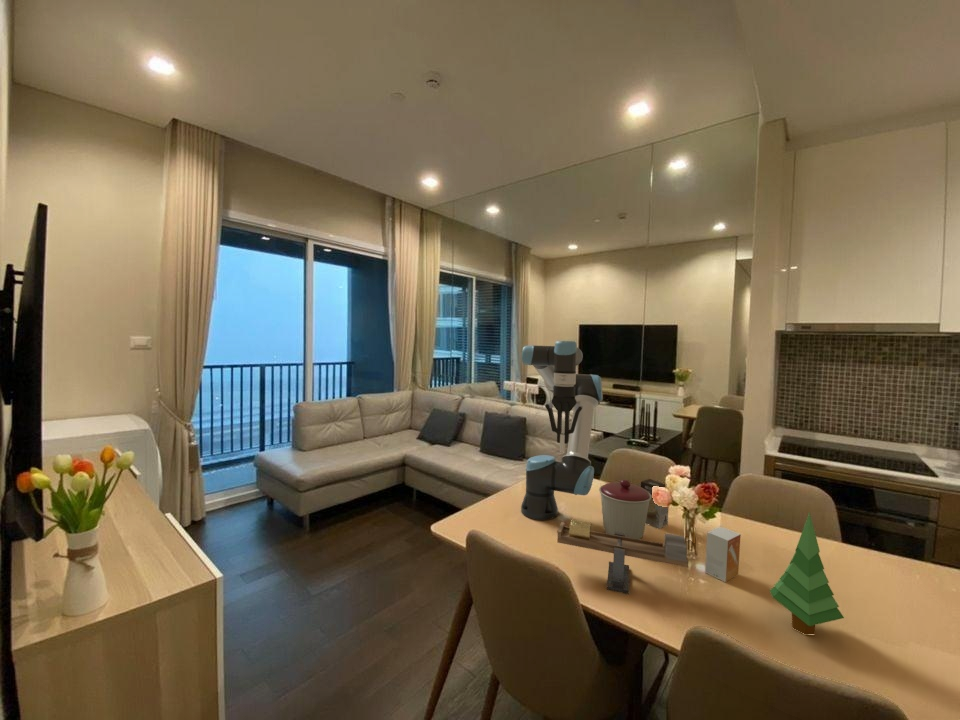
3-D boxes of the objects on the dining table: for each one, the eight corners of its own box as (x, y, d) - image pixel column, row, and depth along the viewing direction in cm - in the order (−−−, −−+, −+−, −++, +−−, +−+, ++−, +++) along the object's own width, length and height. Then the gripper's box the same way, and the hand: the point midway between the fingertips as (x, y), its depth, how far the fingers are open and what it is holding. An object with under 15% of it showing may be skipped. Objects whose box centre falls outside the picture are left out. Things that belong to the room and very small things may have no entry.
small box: (726, 583, 119) (728, 540, 119) (704, 572, 125) (706, 531, 124) (739, 575, 124) (741, 533, 123) (717, 565, 129) (719, 525, 128)
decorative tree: (753, 609, 107) (759, 500, 106) (813, 612, 107) (819, 501, 106) (791, 648, 94) (798, 523, 93) (859, 651, 93) (867, 525, 92)
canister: (634, 554, 135) (636, 492, 133) (587, 534, 148) (589, 478, 147) (658, 537, 146) (661, 481, 145) (613, 520, 160) (615, 468, 159)
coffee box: (638, 520, 160) (639, 481, 160) (647, 516, 164) (648, 478, 163) (659, 529, 153) (661, 488, 152) (668, 525, 156) (670, 485, 156)
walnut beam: (561, 532, 130) (561, 515, 130) (684, 555, 118) (685, 535, 117) (557, 544, 123) (557, 525, 122) (688, 569, 110) (689, 549, 110)
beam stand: (609, 564, 128) (610, 529, 127) (629, 568, 126) (630, 532, 125) (606, 589, 115) (608, 550, 114) (629, 594, 113) (630, 554, 112)
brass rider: (571, 531, 127) (571, 519, 127) (590, 535, 125) (591, 522, 125) (569, 537, 123) (569, 525, 123) (589, 541, 121) (589, 528, 121)
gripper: (543, 385, 138) (541, 452, 139) (582, 387, 133) (580, 457, 134) (547, 383, 145) (546, 447, 146) (584, 385, 140) (582, 451, 141)
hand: (562, 452), depth 140 cm, fingers closed
